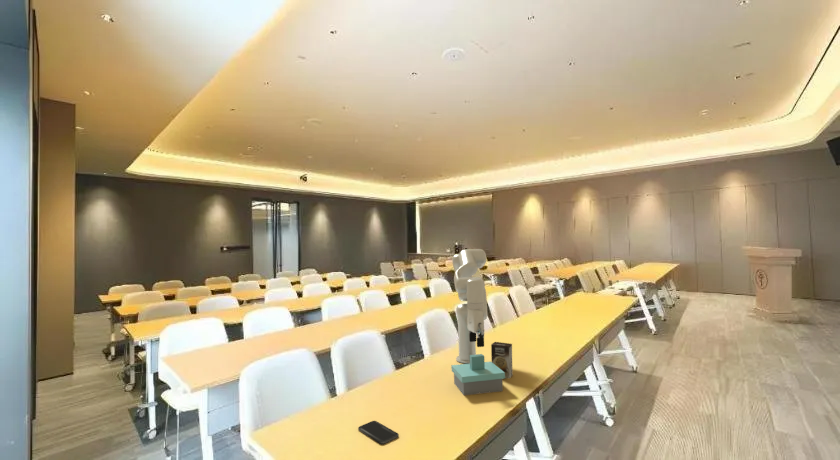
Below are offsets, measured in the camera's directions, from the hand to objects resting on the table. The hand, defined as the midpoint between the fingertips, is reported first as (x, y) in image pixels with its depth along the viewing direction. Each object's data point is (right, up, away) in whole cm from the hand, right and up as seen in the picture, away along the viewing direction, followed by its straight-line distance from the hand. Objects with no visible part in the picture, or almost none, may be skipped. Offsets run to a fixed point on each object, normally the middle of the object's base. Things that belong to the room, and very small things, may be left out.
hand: (476, 344), depth 170 cm
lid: (0, -14, 0) cm, 14 cm away
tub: (0, -20, 0) cm, 20 cm away
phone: (-41, -21, -38) cm, 59 cm away
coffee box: (+15, -21, +14) cm, 29 cm away
